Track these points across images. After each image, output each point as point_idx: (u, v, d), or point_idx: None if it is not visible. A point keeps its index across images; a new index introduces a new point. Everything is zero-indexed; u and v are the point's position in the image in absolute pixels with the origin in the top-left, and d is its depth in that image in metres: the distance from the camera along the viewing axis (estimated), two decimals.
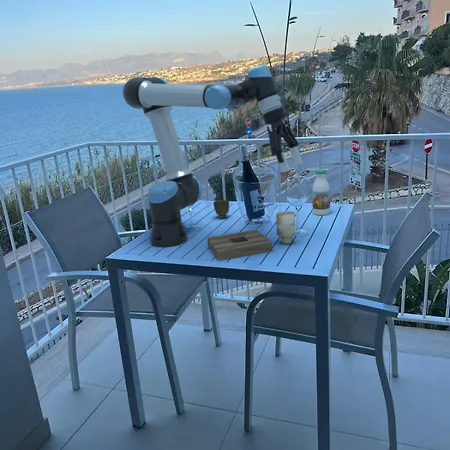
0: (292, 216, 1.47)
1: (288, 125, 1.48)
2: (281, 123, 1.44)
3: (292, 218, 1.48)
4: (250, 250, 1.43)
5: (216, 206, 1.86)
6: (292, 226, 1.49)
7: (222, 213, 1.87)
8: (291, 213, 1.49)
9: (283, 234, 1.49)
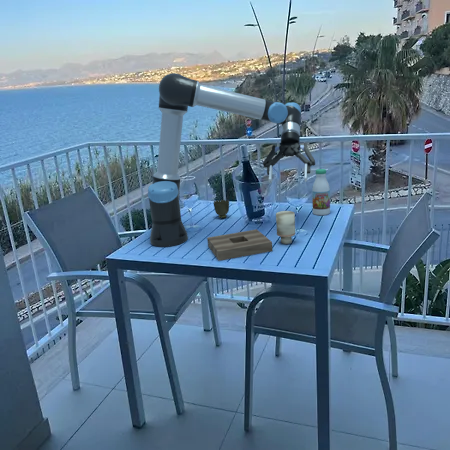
0: (292, 216, 1.47)
1: None
2: None
3: (292, 218, 1.48)
4: (250, 250, 1.43)
5: (216, 206, 1.86)
6: (292, 226, 1.49)
7: (222, 213, 1.87)
8: (291, 213, 1.49)
9: (283, 234, 1.49)
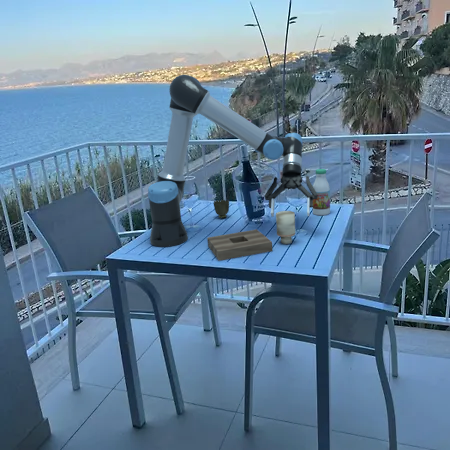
0: (292, 216, 1.47)
1: None
2: None
3: (292, 218, 1.48)
4: (250, 250, 1.43)
5: (216, 206, 1.86)
6: (292, 226, 1.49)
7: (222, 213, 1.87)
8: (291, 213, 1.49)
9: (283, 234, 1.49)
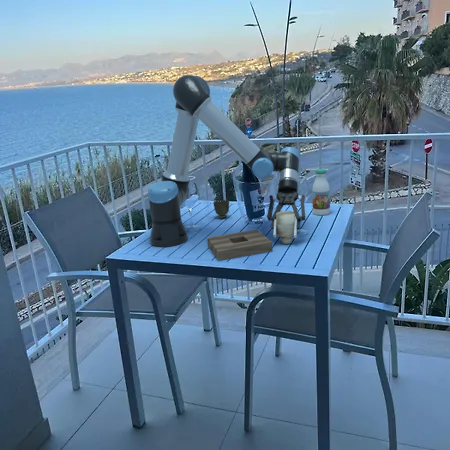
0: (292, 216, 1.47)
1: None
2: None
3: (292, 218, 1.48)
4: (250, 250, 1.43)
5: (216, 206, 1.86)
6: (292, 226, 1.49)
7: (222, 213, 1.87)
8: (291, 213, 1.49)
9: (283, 234, 1.49)
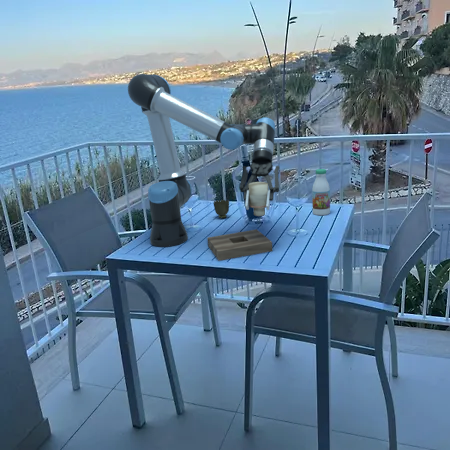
0: (264, 187, 1.42)
1: None
2: None
3: (265, 188, 1.42)
4: (250, 250, 1.43)
5: (216, 206, 1.86)
6: (265, 197, 1.43)
7: (222, 213, 1.87)
8: (264, 184, 1.43)
9: (255, 205, 1.44)
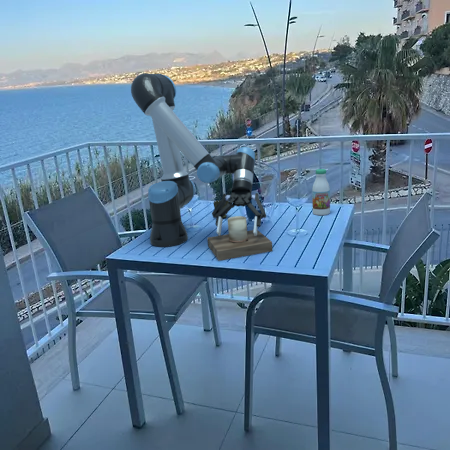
0: (242, 222, 1.45)
1: None
2: None
3: (243, 224, 1.45)
4: (250, 250, 1.43)
5: None
6: (243, 232, 1.46)
7: None
8: (243, 219, 1.46)
9: (234, 240, 1.47)
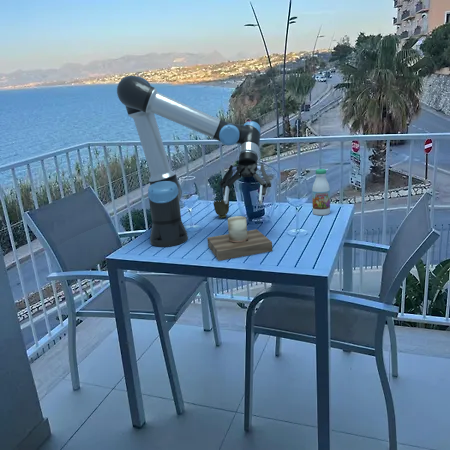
0: (242, 222, 1.45)
1: None
2: None
3: (243, 224, 1.45)
4: (250, 250, 1.43)
5: (216, 206, 1.86)
6: (243, 232, 1.46)
7: (222, 213, 1.87)
8: (243, 219, 1.46)
9: (234, 240, 1.47)
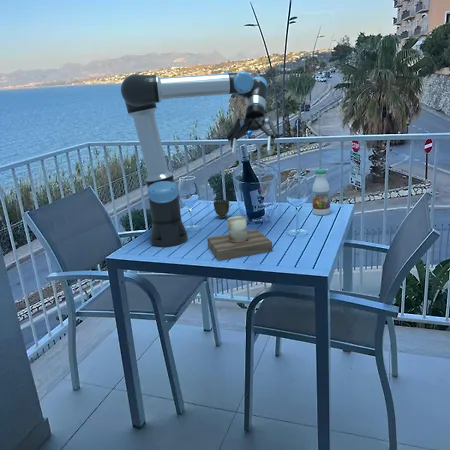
0: (242, 222, 1.45)
1: None
2: None
3: (243, 224, 1.45)
4: (250, 250, 1.43)
5: (216, 206, 1.86)
6: (243, 232, 1.46)
7: (222, 213, 1.87)
8: (243, 219, 1.46)
9: (234, 240, 1.47)
